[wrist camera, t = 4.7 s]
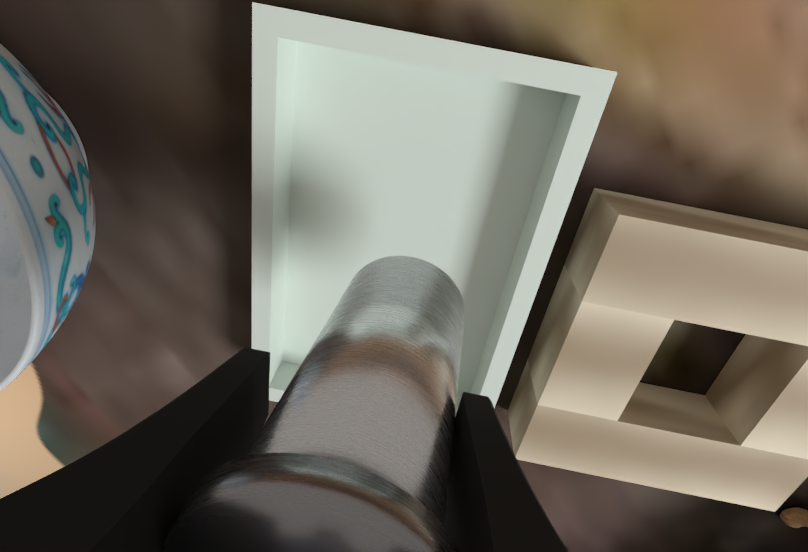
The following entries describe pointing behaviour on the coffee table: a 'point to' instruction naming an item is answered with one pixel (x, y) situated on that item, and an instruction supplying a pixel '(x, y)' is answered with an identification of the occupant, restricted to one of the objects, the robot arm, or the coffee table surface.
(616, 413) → the pin block
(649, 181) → the coffee table surface
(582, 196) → the coffee table surface
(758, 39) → the coffee table surface
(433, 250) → the tray
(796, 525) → the lion figurine
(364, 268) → the metal pin
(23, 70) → the chinaware
